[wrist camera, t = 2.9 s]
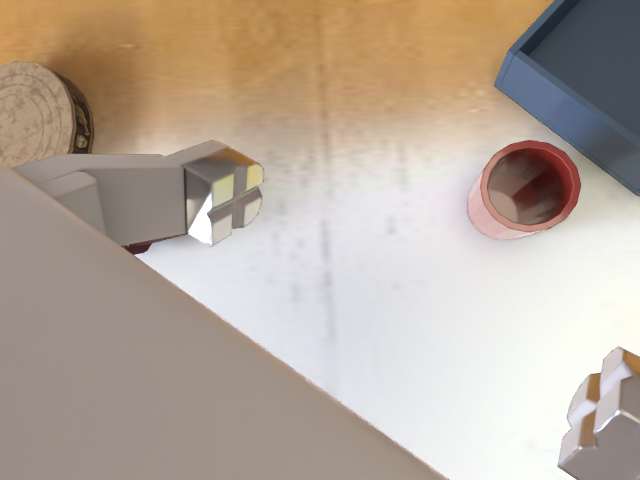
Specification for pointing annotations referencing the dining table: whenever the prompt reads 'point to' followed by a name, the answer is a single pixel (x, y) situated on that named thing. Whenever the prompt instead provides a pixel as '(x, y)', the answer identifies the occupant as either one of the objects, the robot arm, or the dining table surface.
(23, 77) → the wood slice
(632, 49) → the tote
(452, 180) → the dining table surface
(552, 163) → the canister
